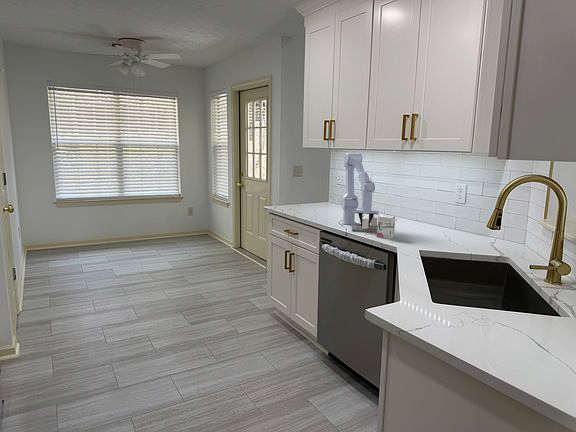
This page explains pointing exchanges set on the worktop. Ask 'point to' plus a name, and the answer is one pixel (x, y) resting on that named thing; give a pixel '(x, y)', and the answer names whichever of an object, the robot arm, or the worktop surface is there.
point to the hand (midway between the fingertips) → (365, 226)
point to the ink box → (386, 226)
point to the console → (359, 229)
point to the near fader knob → (365, 223)
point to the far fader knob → (374, 221)
